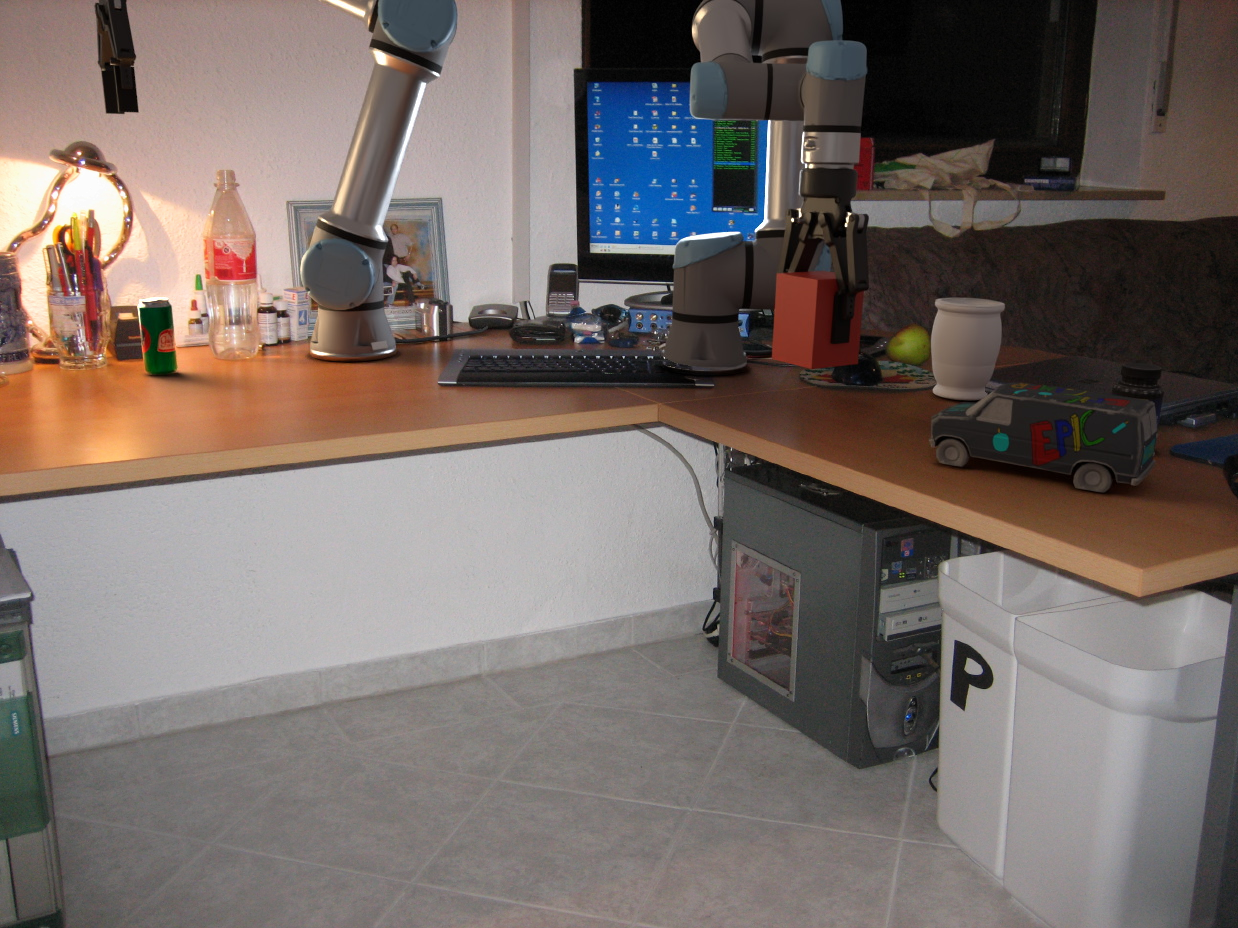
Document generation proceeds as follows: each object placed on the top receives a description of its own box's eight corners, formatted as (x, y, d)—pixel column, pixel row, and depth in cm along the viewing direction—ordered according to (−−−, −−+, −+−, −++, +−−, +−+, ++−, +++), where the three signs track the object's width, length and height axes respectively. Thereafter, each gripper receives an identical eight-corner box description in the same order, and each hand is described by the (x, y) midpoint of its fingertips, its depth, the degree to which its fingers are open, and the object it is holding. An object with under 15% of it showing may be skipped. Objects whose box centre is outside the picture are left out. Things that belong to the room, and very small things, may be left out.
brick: (771, 359, 149) (776, 273, 146) (817, 354, 153) (823, 270, 150) (811, 369, 142) (817, 279, 139) (858, 364, 147) (865, 276, 143)
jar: (912, 390, 173) (921, 298, 169) (962, 386, 177) (972, 295, 173) (956, 405, 163) (966, 307, 159) (1008, 400, 167) (1020, 304, 163)
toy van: (951, 443, 141) (959, 369, 139) (1155, 478, 128) (1168, 397, 125) (922, 461, 133) (930, 382, 130) (1136, 500, 119) (1151, 413, 116)
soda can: (166, 376, 173) (158, 302, 169) (138, 374, 173) (130, 300, 170) (184, 370, 177) (177, 298, 174) (157, 368, 178) (149, 296, 175)
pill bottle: (1117, 454, 138) (1130, 370, 135) (1094, 442, 144) (1106, 361, 140) (1163, 454, 138) (1177, 370, 135) (1139, 442, 144) (1152, 361, 141)
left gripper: (68, -28, 169) (85, 113, 174) (89, -50, 148) (106, 110, 154) (120, -23, 172) (134, 115, 178) (147, -44, 152) (162, 112, 158)
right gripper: (756, 165, 147) (747, 328, 154) (865, 168, 130) (850, 352, 137) (797, 165, 151) (787, 325, 158) (909, 169, 134) (892, 348, 140)
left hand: (121, 113), depth 166 cm, fingers open, 13 cm apart
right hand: (816, 337), depth 147 cm, fingers closed on brick, 8 cm apart
